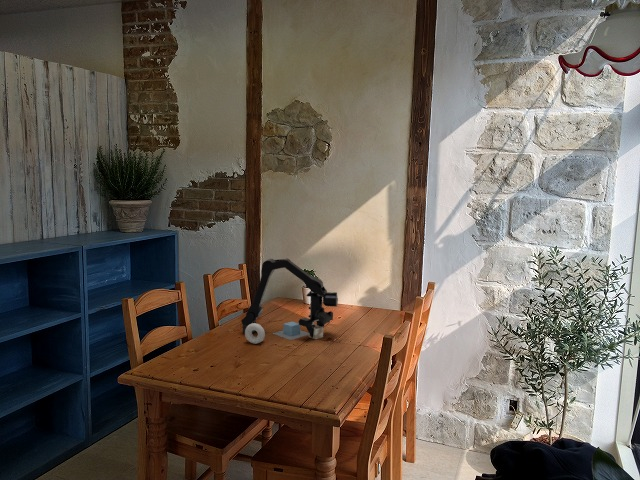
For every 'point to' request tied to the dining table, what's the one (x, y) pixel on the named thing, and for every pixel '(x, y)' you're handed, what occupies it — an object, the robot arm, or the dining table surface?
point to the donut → (259, 330)
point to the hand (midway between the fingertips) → (315, 336)
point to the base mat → (291, 336)
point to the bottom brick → (291, 328)
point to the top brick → (317, 332)
